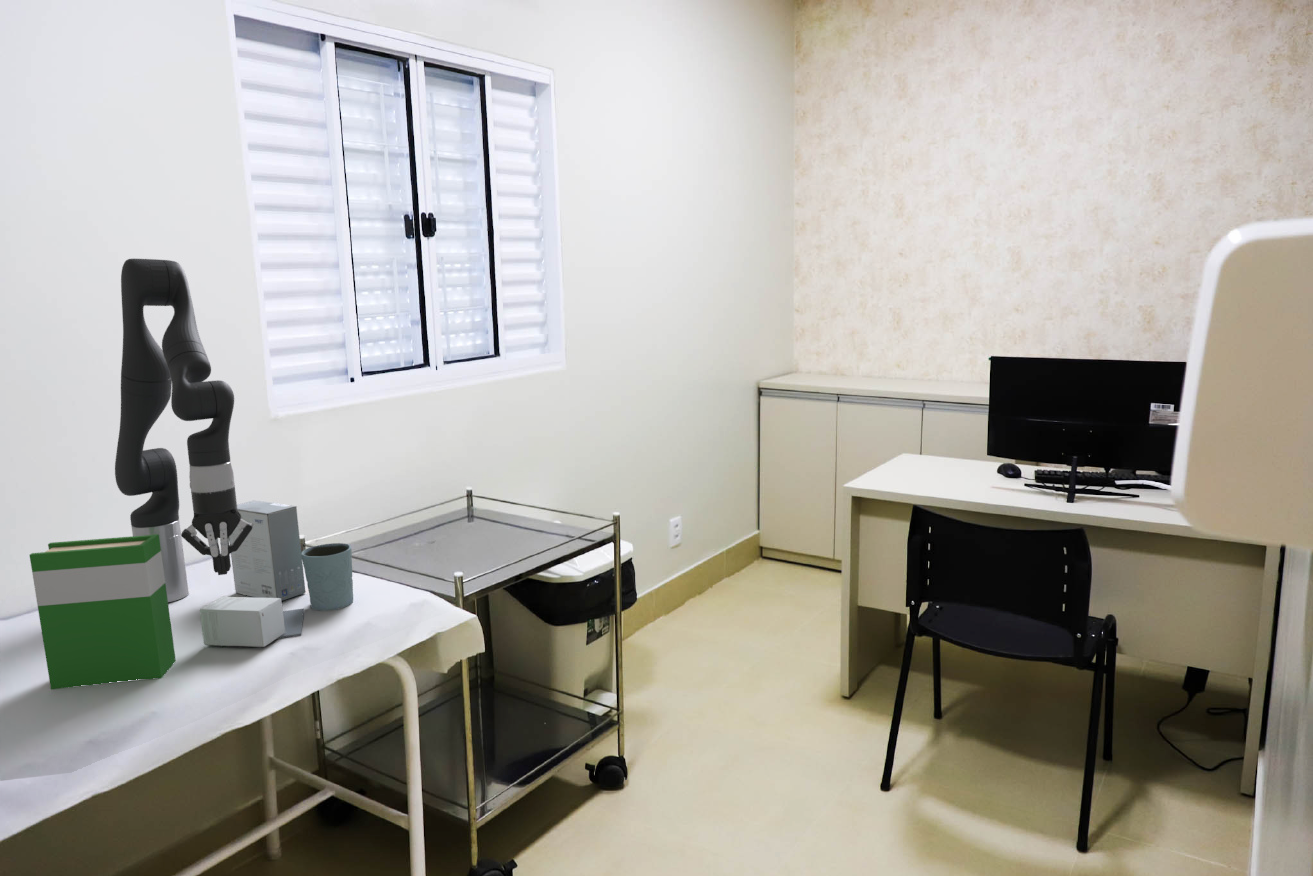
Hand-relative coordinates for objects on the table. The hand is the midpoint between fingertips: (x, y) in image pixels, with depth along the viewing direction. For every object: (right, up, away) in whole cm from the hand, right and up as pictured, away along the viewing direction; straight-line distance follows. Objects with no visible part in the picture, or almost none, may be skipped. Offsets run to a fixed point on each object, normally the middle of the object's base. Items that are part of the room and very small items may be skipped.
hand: (222, 573), depth 175 cm
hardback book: (-12, -16, -15) cm, 25 cm away
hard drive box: (-2, -9, +26) cm, 28 cm away
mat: (+6, -12, +5) cm, 14 cm away
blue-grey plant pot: (+15, -9, +18) cm, 25 cm away
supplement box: (-1, -9, -1) cm, 9 cm away
